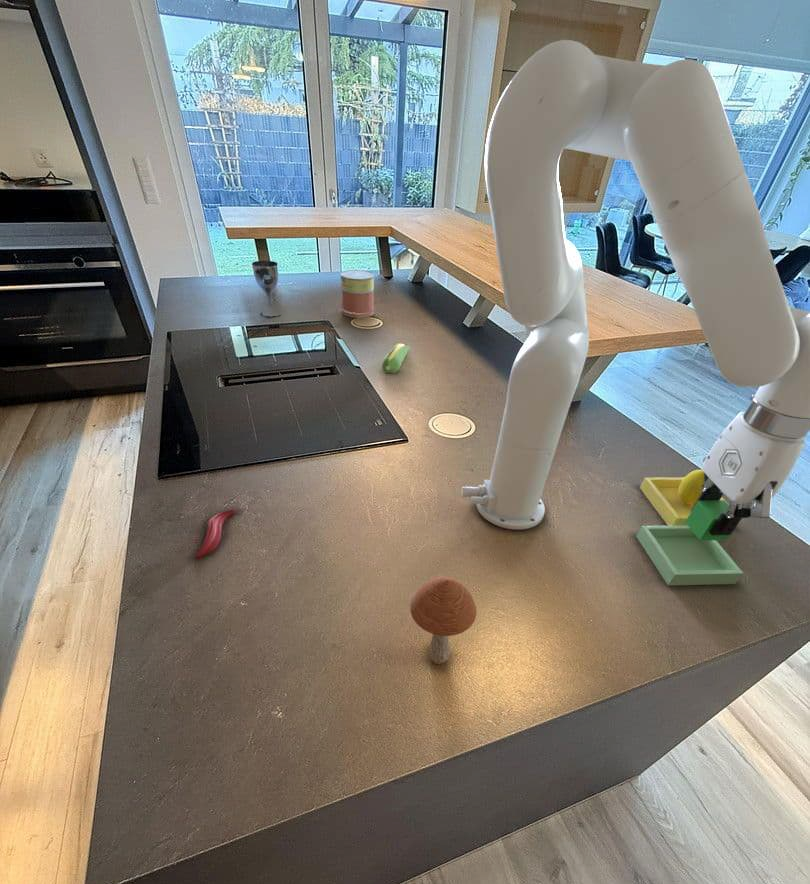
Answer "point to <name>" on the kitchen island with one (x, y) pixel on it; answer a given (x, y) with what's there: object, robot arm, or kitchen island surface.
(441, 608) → the mushroom
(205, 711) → the kitchen island surface
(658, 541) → the green tray
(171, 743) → the kitchen island surface
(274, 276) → the wine glass
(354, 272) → the canned food
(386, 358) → the edible corn
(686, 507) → the yellow tray
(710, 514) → the green cube
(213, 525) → the cayenne pepper
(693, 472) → the lemon
